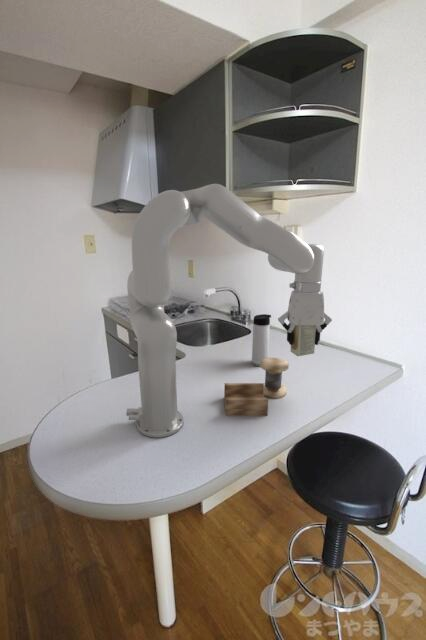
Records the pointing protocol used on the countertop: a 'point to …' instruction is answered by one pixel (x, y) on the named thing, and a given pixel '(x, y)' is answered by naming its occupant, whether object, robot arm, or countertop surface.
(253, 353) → the travel mug
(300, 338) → the skincare box
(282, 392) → the bobbin
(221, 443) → the countertop surface
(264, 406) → the walnut stepped block
